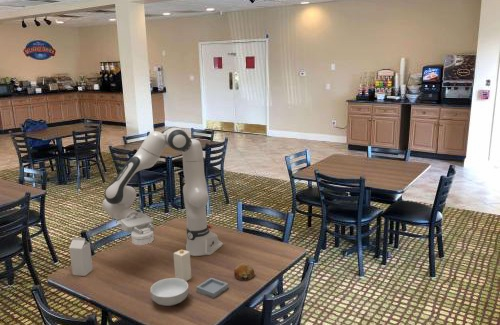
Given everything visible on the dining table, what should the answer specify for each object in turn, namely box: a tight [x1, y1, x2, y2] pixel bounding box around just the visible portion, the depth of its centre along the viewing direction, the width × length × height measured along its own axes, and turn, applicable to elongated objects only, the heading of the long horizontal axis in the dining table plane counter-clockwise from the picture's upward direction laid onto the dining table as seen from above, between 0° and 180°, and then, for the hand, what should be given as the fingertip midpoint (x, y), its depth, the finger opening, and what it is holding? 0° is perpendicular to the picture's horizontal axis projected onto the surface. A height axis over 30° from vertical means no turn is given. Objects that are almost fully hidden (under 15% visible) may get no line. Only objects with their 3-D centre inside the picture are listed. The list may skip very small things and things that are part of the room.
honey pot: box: [130, 228, 155, 246], centre depth 254 cm, size 13×13×18 cm
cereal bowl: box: [149, 277, 189, 307], centre depth 189 cm, size 17×17×7 cm
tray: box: [195, 277, 229, 299], centre depth 197 cm, size 10×10×2 cm
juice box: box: [173, 248, 192, 282], centre depth 207 cm, size 6×6×15 cm
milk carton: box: [68, 237, 94, 277], centre depth 216 cm, size 7×7×19 cm
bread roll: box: [233, 263, 255, 281], centre depth 210 cm, size 10×10×8 cm
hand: (148, 231), depth 212 cm, fingers open, 8 cm apart
